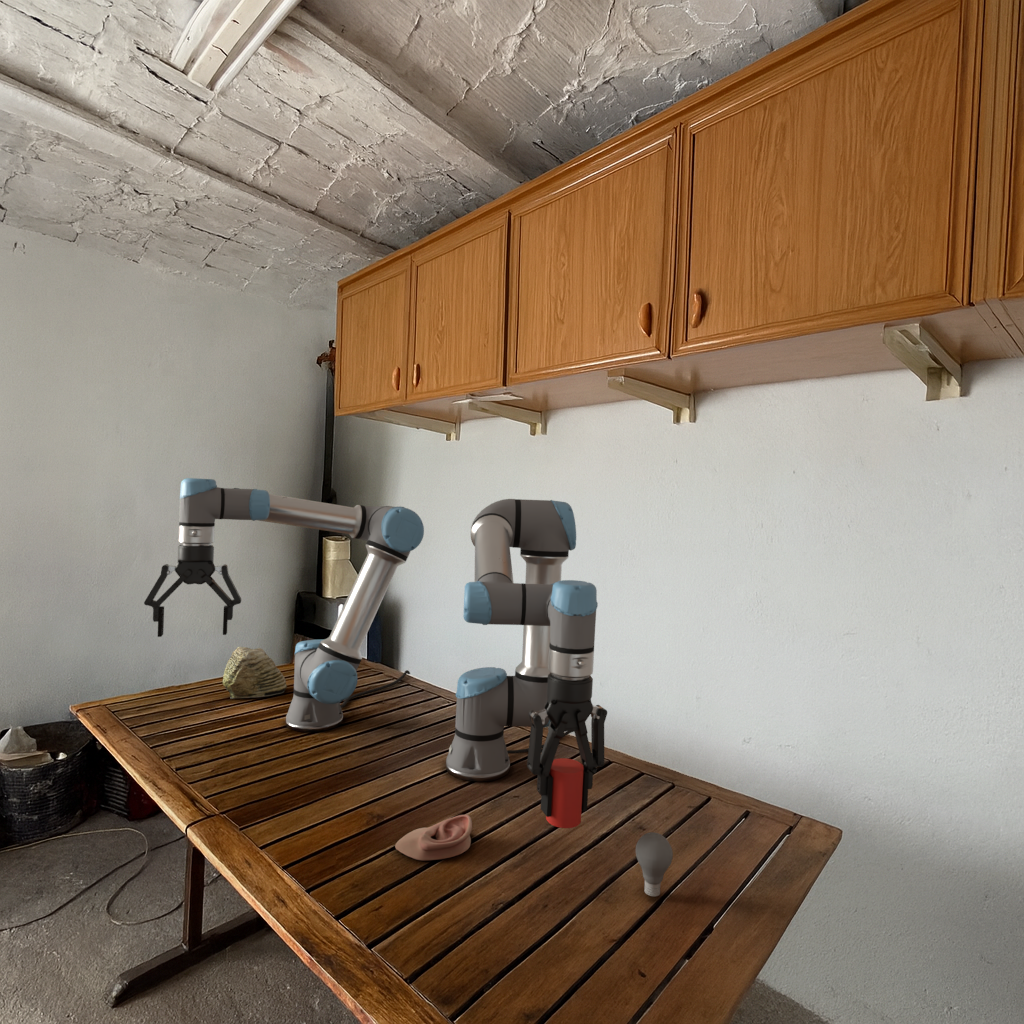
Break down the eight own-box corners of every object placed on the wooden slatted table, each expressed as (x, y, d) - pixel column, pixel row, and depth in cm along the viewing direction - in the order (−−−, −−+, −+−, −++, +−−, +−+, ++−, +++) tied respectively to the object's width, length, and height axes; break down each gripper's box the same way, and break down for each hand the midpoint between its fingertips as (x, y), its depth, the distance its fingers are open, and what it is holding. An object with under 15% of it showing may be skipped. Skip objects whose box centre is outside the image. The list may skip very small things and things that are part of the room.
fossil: (218, 695, 195) (220, 647, 195) (278, 685, 208) (279, 640, 207) (228, 703, 189) (230, 653, 188) (289, 692, 201) (290, 645, 201)
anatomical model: (389, 833, 113) (412, 803, 124) (388, 855, 113) (411, 823, 124) (460, 844, 110) (477, 813, 121) (459, 867, 110) (476, 833, 121)
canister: (539, 820, 106) (541, 766, 106) (557, 806, 111) (559, 755, 111) (569, 832, 103) (572, 776, 102) (587, 818, 107) (589, 764, 107)
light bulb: (629, 883, 108) (632, 825, 107) (663, 883, 108) (666, 825, 108) (639, 906, 102) (642, 844, 101) (675, 905, 102) (678, 844, 102)
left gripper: (131, 544, 140) (128, 640, 141) (253, 546, 149) (250, 636, 149) (138, 542, 147) (135, 632, 148) (254, 543, 156) (251, 629, 156)
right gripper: (526, 684, 99) (519, 829, 100) (631, 677, 106) (624, 813, 106) (509, 670, 106) (503, 806, 107) (609, 664, 113) (603, 792, 113)
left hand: (193, 634), depth 148 cm, fingers open, 13 cm apart
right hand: (563, 809), depth 107 cm, fingers closed on canister, 6 cm apart
